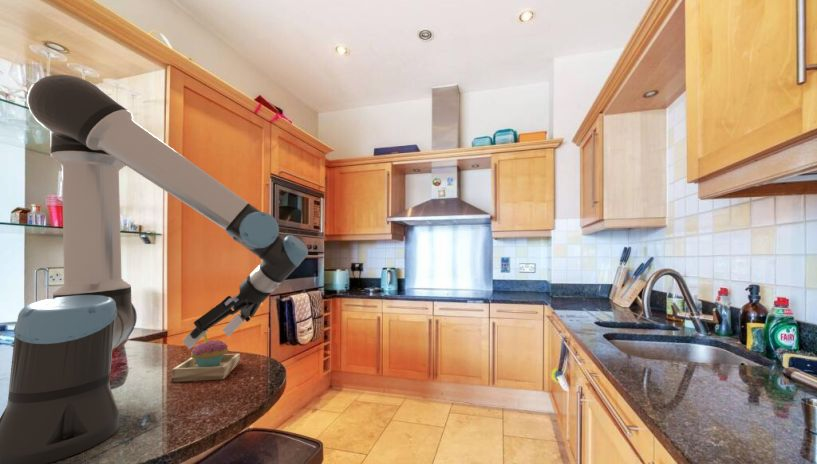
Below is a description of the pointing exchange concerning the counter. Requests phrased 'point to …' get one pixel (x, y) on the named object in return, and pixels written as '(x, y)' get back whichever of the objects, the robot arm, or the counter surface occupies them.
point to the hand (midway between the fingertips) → (207, 338)
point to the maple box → (204, 369)
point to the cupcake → (209, 353)
